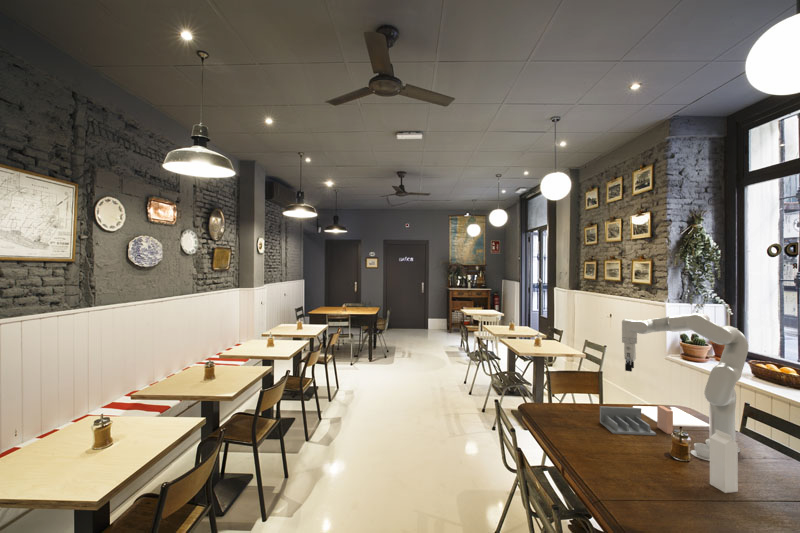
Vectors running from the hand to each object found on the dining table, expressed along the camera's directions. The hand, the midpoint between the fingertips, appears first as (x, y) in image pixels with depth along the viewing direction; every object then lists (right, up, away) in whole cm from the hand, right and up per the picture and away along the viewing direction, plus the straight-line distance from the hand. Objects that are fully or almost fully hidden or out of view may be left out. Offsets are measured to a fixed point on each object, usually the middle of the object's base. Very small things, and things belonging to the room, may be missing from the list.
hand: (629, 369), depth 208 cm
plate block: (+9, -29, -16) cm, 34 cm away
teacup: (+7, -29, -43) cm, 52 cm away
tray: (+27, -30, +4) cm, 41 cm away
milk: (-7, -28, -68) cm, 73 cm away
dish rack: (-11, -29, -14) cm, 34 cm away
